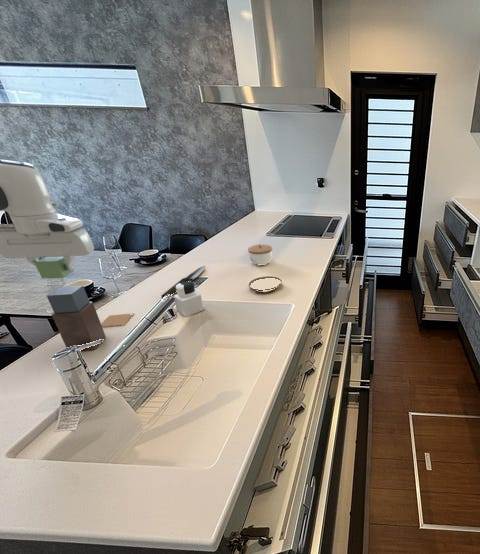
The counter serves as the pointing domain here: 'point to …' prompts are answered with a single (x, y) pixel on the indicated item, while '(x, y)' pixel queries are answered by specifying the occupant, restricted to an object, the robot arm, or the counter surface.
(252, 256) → the lidded bowl
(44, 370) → the counter surface
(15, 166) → the robot arm
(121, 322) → the cork mat
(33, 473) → the counter surface
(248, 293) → the counter surface
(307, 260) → the counter surface
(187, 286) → the medicine bottle
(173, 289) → the kitchen knife
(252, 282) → the plant saucer
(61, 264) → the green box
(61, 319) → the storage box
